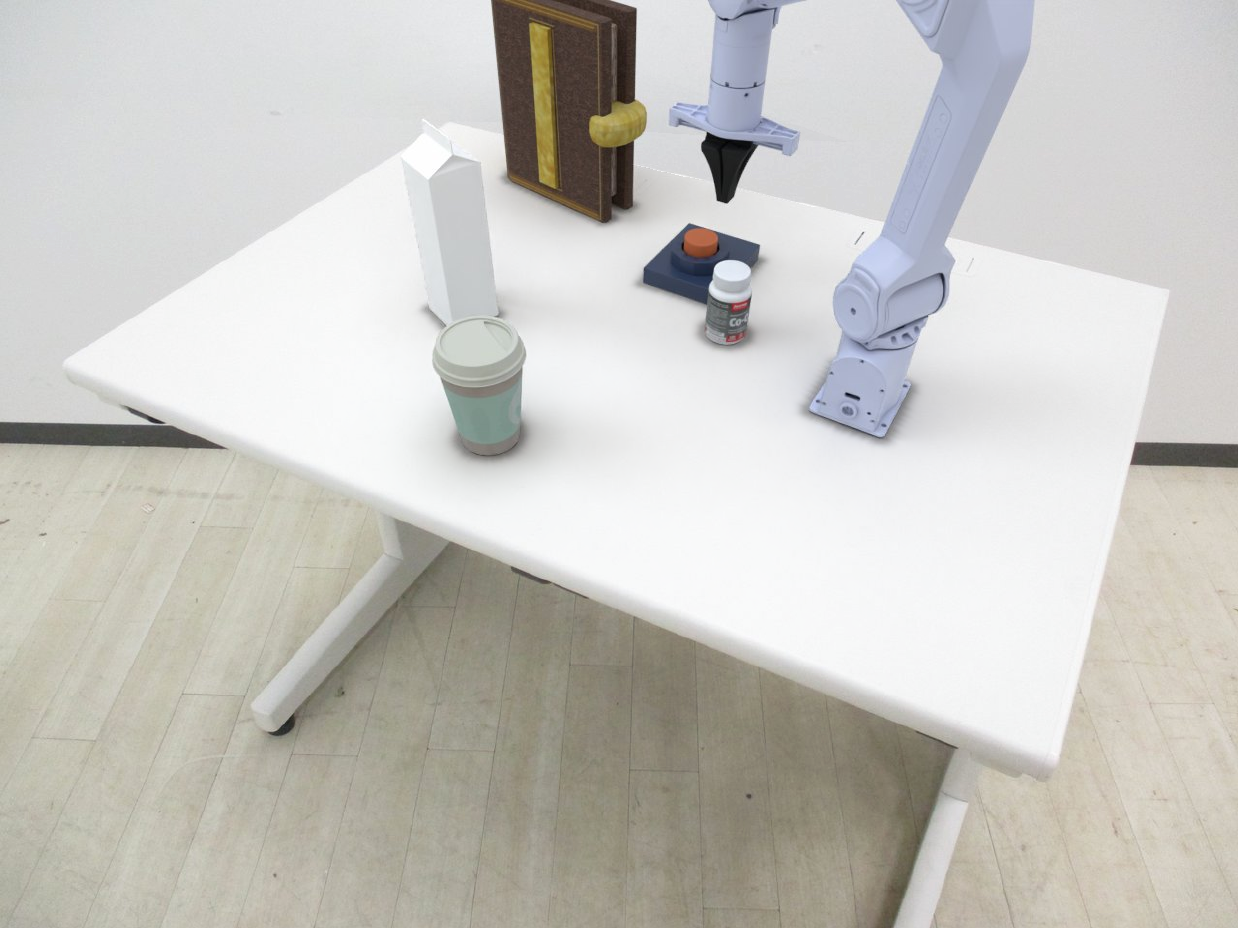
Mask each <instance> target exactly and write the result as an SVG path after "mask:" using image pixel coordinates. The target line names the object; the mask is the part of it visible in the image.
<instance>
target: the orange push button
mask: <svg viewBox="0 0 1238 928" xmlns="http://www.w3.org/2000/svg"><path fill="white" fill-rule="evenodd" d="M708 229H709V228H707V229H703V228H698V229H692V230H690V231H688V232H687V233H686V234H685V236H684V252H685V253H686V254H687V255H691V256H694V257H710V256H713V255H715V254H716V252H717V244H718V236H717V234H716V233H714V232H713V231H711V230H712V229H710V230H708Z"/></svg>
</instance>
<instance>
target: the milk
mask: <svg viewBox="0 0 1238 928" xmlns="http://www.w3.org/2000/svg"><path fill="white" fill-rule="evenodd" d="M421 125H422V126H421V127H422V133H421V135H419V136H418V137H417V138H416V139H415V141H413V142H412V143H411V145H410V146H408V148H407V149H406V150H405V151H403V153H402V154H401V156H400V160H401V166H402V171H403V177H404V182H405V186H406V193H407V197H408V198H407V199H408V202H409V209H410V213H411V214H410V215H411V218H412V224H413V229H414V234H415V235H414V236H415V239H416V244H417V251H418V256H419V260H420V265H421V266H420V267H421V272H422V276H423V282H424V287H425V292H426V298H427V303H428V308H429V310H430V311H431V312H432V313H433V314H434V315H435V316H436V317H437V318H438V319H439V320H440V321H441V322H442V323H443V324H444V325H445V327H446V326H447V325H449V324H450V323H452V322H454V321H456V320H459V319H462V318H465V317H470V316H492V317H498V316H499V315H500V314H499V306H498V298H497V297H498V296H497V289H496V280H495V271H494V264H493V254H492V246H491V238H490V229H489V222H488V221H489V220H488V214H487V205H486V198H485V190H484V187H485V186H484V180H483V171H482V164H481V161H480V160H478V159H477V158H475V157H474V156H473V155H471V154H470V153H469V152H467V151H466V150H465V149H464V148H462V147H461V146H459V145H458V144H457V143H456V142H454V141H453V140H451V138H450V137H449V136H447V135H446V134H444V133H443V132H441V131H440V130H439V129H438V128H436V127H435V125H433V124H431V123H430V122H429V121H427V120H426V119H425V118H422V119H421Z"/></svg>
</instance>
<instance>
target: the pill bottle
mask: <svg viewBox="0 0 1238 928" xmlns="http://www.w3.org/2000/svg"><path fill="white" fill-rule="evenodd" d="M751 277H752V268H750V267H749V266H748V265H747V264H745V263H743V262H740V261H736V260H725V261H722V262H719V263H718V264H717V265H716V266H715V267H714V272H713V280H712V282H711V283H710V285H709V291H708V301H707V304H706V312H705V323H704V333H705V336H706V337H707V338H708V339H709V340H711V341H712V342H714V343H716V344H719V345H722V346H723V345H724V346H730V345H735V344H738V343H741V341H743V340H744V339H745V337H746V335H747V331H748V330H747V329H748V323H749V315H750V309H751V303H752V297H753V296H752V294H753V287H752V285H751V280H752V279H751Z"/></svg>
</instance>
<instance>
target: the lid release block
mask: <svg viewBox="0 0 1238 928" xmlns="http://www.w3.org/2000/svg"><path fill="white" fill-rule="evenodd" d="M698 228H703V229H708V230H711V231H713V232H714V233H716V234H717V236H718V244H717V252H716V254H715V255H713V256H710V257H694V256H691V255H687V254H686V253H685V252H684V236H685V234H686V233H687V232H688V231H690V230H692V229H698ZM760 249H761V244H760V243H757V242H753V241H750V240H746V239H743V238H740V237H736V236H733V235H730V234H727V233H723V232H720V231H717V230H713V229H710V228H706V227H704V226H701V225H698V224H697V225H696V224H694V223H690V222H689V223H688V224H686V226H684V227H683V229H681V230H680V232H678V233H677V234H676V235H675V236H674V237H673V238H672V239H671V240H670V241H669V242H668V243H667V244H666V245H665V246H664V247H663V248H662V249H661V250H660V251H659V252H658V253H657V254H656V255H655V256H654V257H652V259H651V260H650V261H649V262H648V263H646V264H645V266H644V267H643V274H642V277H643V278H642V283H643V284H645V285H649V286H650V287H654V288H657V289H660V290H663V291H666V292H669V293H672V294H676V295H678V296H681V297H683V298H687V299H690V300H692V301H695V302H698V303H702V304H704V305H707V301H708V291H709V285H710V283H711V282H712V280H713V272H714V267H715V266H716V265H717V264H718V263H719V262H722V261H725V260H736V261H740V262H743V263H745V264H747V265H748V266H749V267H750V269H752V267H753V266H754V265H755V264H756V263H757V262H758V260H759V256H760V251H761V250H760Z"/></svg>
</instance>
